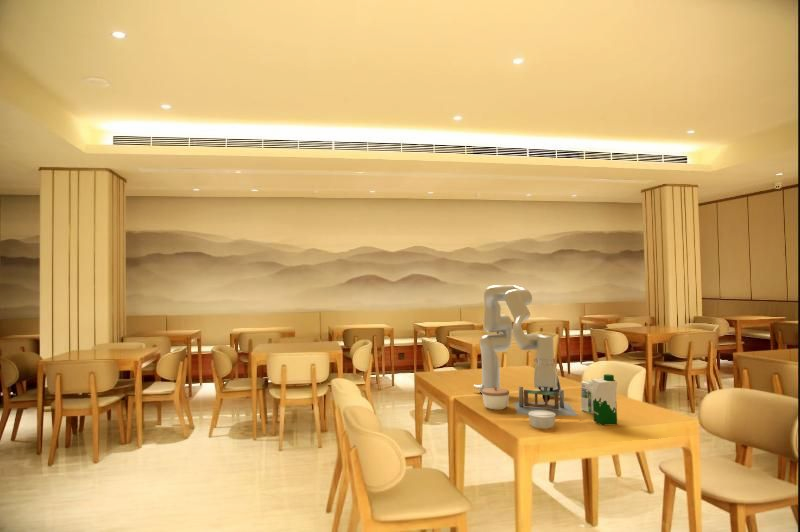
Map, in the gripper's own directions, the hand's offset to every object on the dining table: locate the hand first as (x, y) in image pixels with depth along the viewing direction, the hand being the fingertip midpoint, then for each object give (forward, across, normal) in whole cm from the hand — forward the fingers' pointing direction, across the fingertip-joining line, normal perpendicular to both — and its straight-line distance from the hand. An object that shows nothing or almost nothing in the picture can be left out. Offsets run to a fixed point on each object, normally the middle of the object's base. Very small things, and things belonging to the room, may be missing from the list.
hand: (546, 401), depth 246 cm
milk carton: (+4, +27, -10) cm, 30 cm away
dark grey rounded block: (+4, -5, +27) cm, 27 cm away
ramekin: (+5, +5, -27) cm, 28 cm away
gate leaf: (+3, -2, -2) cm, 4 cm away
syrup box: (+4, +19, +2) cm, 20 cm away
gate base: (+4, -1, -2) cm, 5 cm away
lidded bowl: (+4, -22, -9) cm, 24 cm away
